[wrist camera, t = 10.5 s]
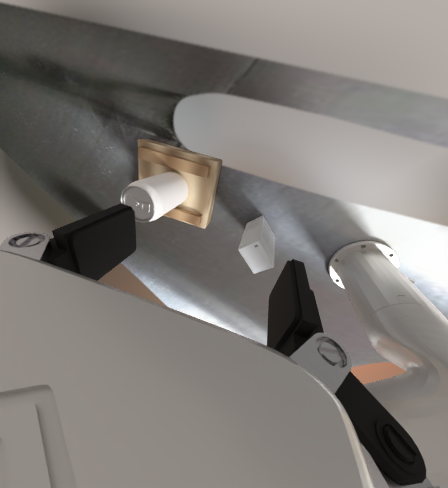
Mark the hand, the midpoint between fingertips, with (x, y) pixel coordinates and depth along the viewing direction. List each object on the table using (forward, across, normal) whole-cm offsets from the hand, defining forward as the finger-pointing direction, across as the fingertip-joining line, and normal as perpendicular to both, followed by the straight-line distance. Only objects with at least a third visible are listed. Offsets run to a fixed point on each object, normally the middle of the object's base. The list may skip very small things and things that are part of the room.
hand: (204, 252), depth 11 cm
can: (+26, +15, +6) cm, 31 cm away
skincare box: (+31, -5, +11) cm, 33 cm away
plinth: (+30, +15, +6) cm, 34 cm away
